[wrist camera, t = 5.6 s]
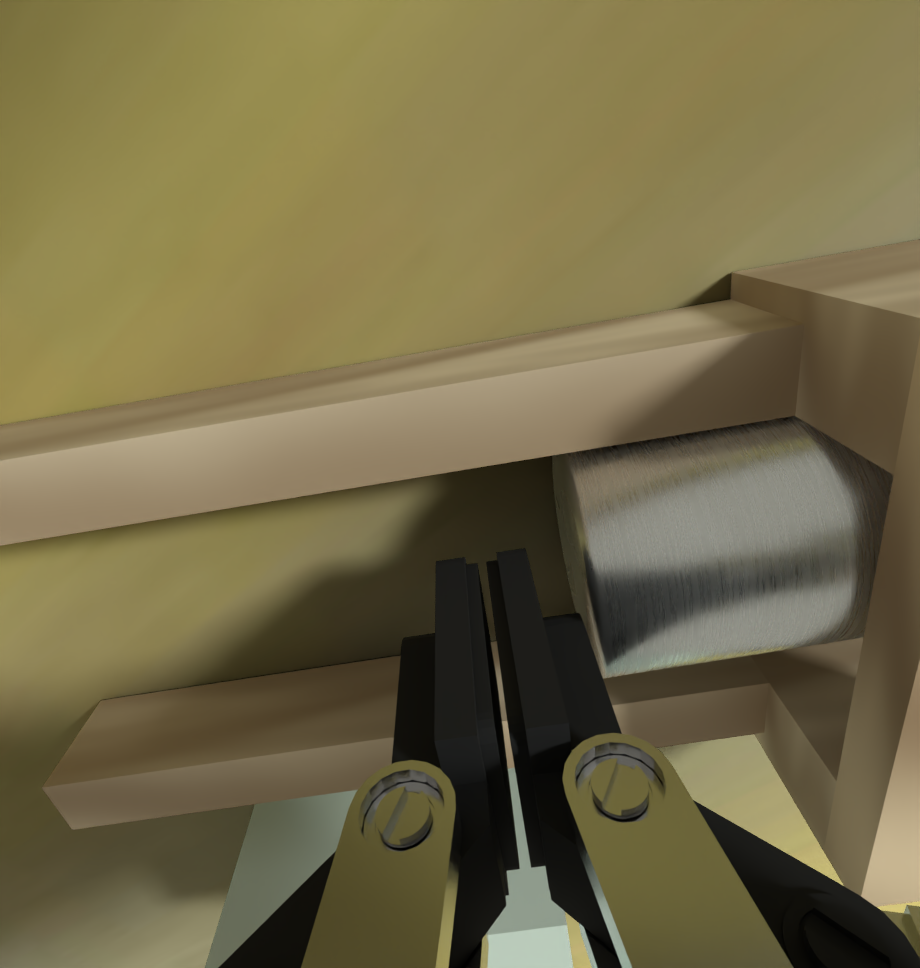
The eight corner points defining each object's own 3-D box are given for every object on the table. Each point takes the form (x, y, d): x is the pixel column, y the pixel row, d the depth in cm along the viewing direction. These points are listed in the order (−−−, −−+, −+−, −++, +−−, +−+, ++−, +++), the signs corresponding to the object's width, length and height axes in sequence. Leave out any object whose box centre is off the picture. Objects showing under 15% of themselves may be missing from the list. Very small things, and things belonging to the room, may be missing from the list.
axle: (573, 621, 13) (621, 729, 9) (543, 435, 13) (580, 456, 8) (1109, 535, 13) (1432, 605, 9) (1105, 335, 12) (1453, 302, 8)
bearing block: (-74, 412, 12) (-492, 585, 6) (948, 234, 11) (1429, 266, 6) (132, 752, 16) (-17, 1019, 11) (869, 645, 15) (1095, 879, 10)
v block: (260, 785, 17) (203, 971, 13) (535, 746, 16) (566, 924, 12) (353, 979, 22) (333, 1158, 17) (567, 952, 21) (596, 1128, 17)
